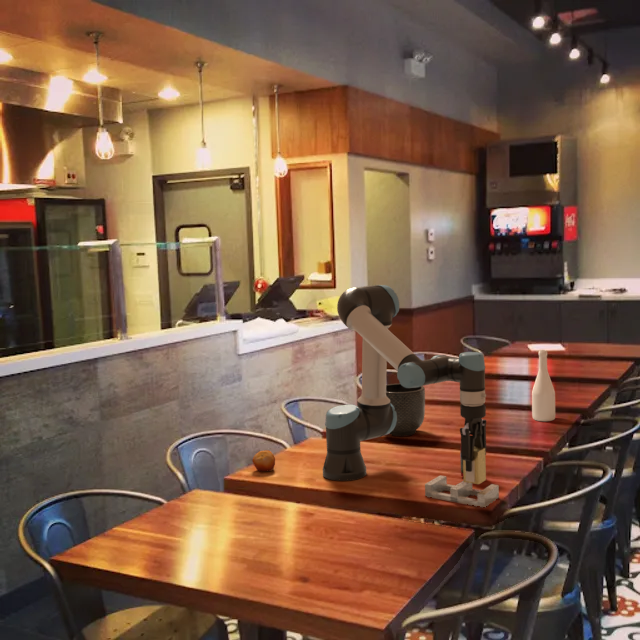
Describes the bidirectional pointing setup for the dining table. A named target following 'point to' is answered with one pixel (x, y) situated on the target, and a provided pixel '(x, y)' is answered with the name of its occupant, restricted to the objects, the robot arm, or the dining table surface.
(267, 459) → the fruit
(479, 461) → the brass block
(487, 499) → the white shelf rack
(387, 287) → the robot arm
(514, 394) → the dining table surface
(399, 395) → the planter
